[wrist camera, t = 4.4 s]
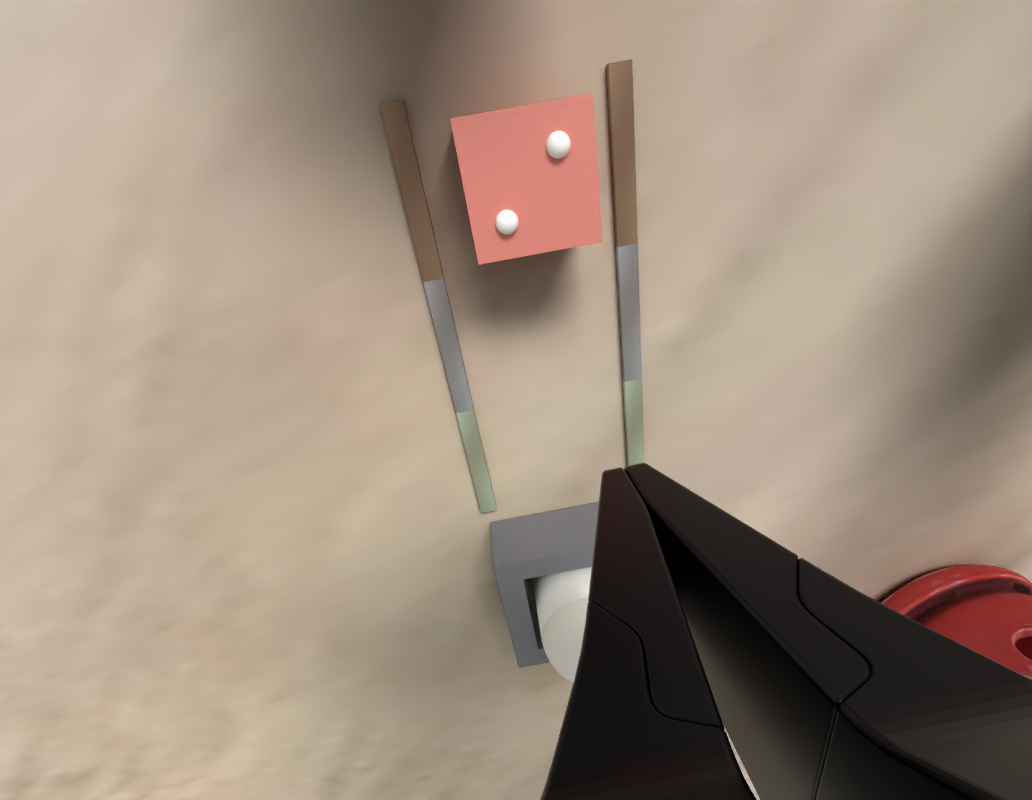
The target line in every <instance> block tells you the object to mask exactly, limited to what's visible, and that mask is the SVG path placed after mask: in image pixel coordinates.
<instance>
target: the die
mask: <svg viewBox="0 0 1032 800" xmlns="http://www.w3.org/2000/svg"><path fill="white" fill-rule="evenodd" d="M450 121H451V126H452V132H453V137H454V142H455V147H456V152H457V157H458V162H459V167H460V173H461V178H462V183H463V188H464V193H465V198H466V203H467V209H468V214H469V219H470V224H471V229H472V234H473V239H474V244H475V250H476V255H477V260H478V265H480V264H485V263H491V262H496V261H502V260H507V259H513V258H518V257H523V256H529V255H534V254H540V253H545V252H551V251H556V250H561V249H567V248H572V247H578V246H583V245H589V244H594V243H599V242H603V239H602V224H601V210H600V195H599V180H598V165H597V151H596V136H595V121H594V106H593V93H589V94H583V95H578V96H572V97H567V98H561V99H555V100H550V101H544V102H539V103H533V104H528V105H522V106H517V107H511V108H506V109H500V110H495V111H489V112H483V113H478V114H472V115H467V116H461V117H456V118H450Z"/></svg>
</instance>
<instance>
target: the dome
mask: <svg viewBox="0 0 1032 800" xmlns="http://www.w3.org/2000/svg"><path fill="white" fill-rule="evenodd" d="M591 569H592V567H587V568H582V569H577V570H571V571H566V572H561V573H556V574H550V575H545V576H540V577H534V578H532V583H533V589H534V595H535V602H536V608H537V614H538V621H539V627H540V633H541V639H542V644H543V648H544V651H545V653H546V656H547V657H548V659H549V661H550V663H551V664H552V666H553V667H554V668H555V670H556V671H557V672H558V673H559V674H560V675H561V676H562V677H564V678H565V679H566V680H568V681H570V682H571V683H574V679H575V674H576V670H577V666H578V661H579V657H580V652H581V647H582V640H583V634H584V627H585V621H586V612H587V604H588V596H589V587H590V578H591Z"/></svg>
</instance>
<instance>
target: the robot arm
mask: <svg viewBox="0 0 1032 800" xmlns="http://www.w3.org/2000/svg"><path fill="white" fill-rule="evenodd" d="M723 724H724V725H723ZM724 726H725V728H726V730H727V732H728V734H729V736H730V738H731V740H732V742H733V744H734V747H735V749H736V751H737V753H738V755H739V757H740V759H741V761H742V763H743V765H744V767H745V769H746V771H747V773H748V775H749V777H750V779H751V781H752V783H753V785H754V787H755V789H756V791H757V794H758V796H759V798H760V799H761V800H1032V679H1030V678H1028V677H1025V676H1023V675H1021V674H1019V673H1017V672H1015V671H1013V670H1011V669H1009V668H1007V667H1005V666H1003V665H1001V664H999V663H997V662H995V661H993V660H991V659H989V658H987V657H985V656H983V655H981V654H979V653H977V652H975V651H973V650H971V649H969V648H967V647H965V646H963V645H962V644H960V643H958V642H956V641H954V640H952V639H950V638H948V637H946V636H944V635H942V634H940V633H938V632H936V631H934V630H932V629H930V628H928V627H926V626H924V625H922V624H920V623H918V622H916V621H914V620H912V619H910V618H908V617H906V616H904V615H902V614H900V613H899V612H897V611H895V610H893V609H891V608H889V607H887V606H885V605H883V604H882V603H880V602H878V601H876V600H874V599H872V598H870V597H868V596H866V595H865V594H863V593H861V592H859V591H857V590H855V589H854V588H852V587H850V586H849V585H847V584H845V583H843V582H842V581H840V580H838V579H836V578H835V577H833V576H831V575H830V574H828V573H826V572H824V571H823V570H821V569H819V568H818V567H816V566H814V565H813V564H811V563H809V562H808V561H806V560H805V559H803V558H800V559H798V556H797V555H796V554H794V553H793V552H791V551H789V550H788V549H786V548H784V547H783V546H781V545H779V544H778V543H776V542H775V541H773V540H771V539H770V538H768V537H766V536H765V535H763V534H761V533H760V532H758V531H756V530H755V529H753V528H751V527H750V526H748V525H747V524H745V523H743V522H742V521H740V520H738V519H737V518H735V517H733V516H732V515H730V514H728V513H727V512H725V511H723V510H722V509H720V508H719V507H717V506H715V505H714V504H712V503H710V502H709V501H707V500H705V499H704V498H702V497H700V496H699V495H697V494H695V493H694V492H692V491H690V490H689V489H687V488H686V487H684V486H682V485H681V484H679V483H677V482H676V481H674V480H672V479H671V478H669V477H667V476H666V475H664V474H662V473H661V472H659V471H658V470H656V469H654V468H653V467H651V466H649V465H648V464H646V463H639V464H634V465H629V466H626V467H625V468H624V469H623V468H615V469H610V470H605V471H604V472H603V473H602V479H601V488H600V497H599V506H598V515H597V524H596V533H595V542H594V551H593V560H592V569H591V578H590V587H589V596H588V604H587V612H586V621H585V627H584V634H583V640H582V647H581V652H580V657H579V661H578V666H577V670H576V674H575V679H574V683H573V687H572V690H571V694H570V698H569V702H568V705H567V709H566V713H565V717H564V720H563V724H562V728H561V732H560V735H559V739H558V743H557V746H556V750H555V754H554V758H553V761H552V765H551V768H550V772H549V775H548V778H547V781H546V785H545V788H544V791H543V794H542V796H541V799H540V800H756V798H755V796H754V795H753V793H752V791H751V790H750V788H749V786H748V784H747V782H746V780H745V778H744V776H743V774H742V772H741V770H740V767H739V765H738V763H737V760H736V758H735V755H734V753H733V750H732V748H731V745H730V742H729V740H728V737H727V734H726V732H725V731H724Z"/></svg>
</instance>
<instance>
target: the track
mask: <svg viewBox="0 0 1032 800" xmlns="http://www.w3.org/2000/svg"><path fill="white" fill-rule="evenodd" d="M606 71H607V90H608V109H609V128H610V147H611V166H612V185H613V204H614V223H615V242H616V261H617V281H618V300H619V319H620V338H621V357H622V376H623V395H624V414H625V433H626V452H627V466H629V465H634V464H639V463H644V433H643V401H642V368H641V335H640V303H639V270H638V238H637V205H636V172H635V140H634V107H633V74H632V60H626V61H620V62H615V63H609V64H607V65H606ZM379 107H380V111H381V115H382V119H383V123H384V127H385V131H386V135H387V139H388V143H389V147H390V151H391V155H392V159H393V163H394V167H395V171H396V175H397V179H398V183H399V187H400V191H401V195H402V199H403V203H404V207H405V211H406V215H407V219H408V223H409V227H410V231H411V235H412V239H413V243H414V247H415V251H416V255H417V259H418V263H419V267H420V271H421V275H422V279H423V283H424V287H425V291H426V295H427V299H428V303H429V307H430V311H431V315H432V319H433V323H434V327H435V331H436V335H437V339H438V343H439V347H440V351H441V355H442V359H443V363H444V367H445V371H446V374H447V378H448V382H449V386H450V390H451V394H452V398H453V402H454V406H455V410H456V414H457V418H458V422H459V426H460V430H461V434H462V438H463V442H464V446H465V450H466V454H467V458H468V462H469V466H470V470H471V474H472V478H473V482H474V486H475V490H476V494H477V498H478V502H479V506H480V510H481V513H485V512H490V511H495V510H496V503H495V499H494V495H493V490H492V486H491V481H490V477H489V473H488V468H487V464H486V460H485V455H484V451H483V446H482V442H481V438H480V433H479V429H478V425H477V420H476V416H475V411H474V407H473V403H472V398H471V394H470V390H469V385H468V381H467V376H466V372H465V368H464V363H463V359H462V355H461V350H460V346H459V341H458V337H457V333H456V328H455V324H454V320H453V315H452V311H451V306H450V302H449V298H448V293H447V289H446V285H445V280H444V276H443V271H442V267H441V263H440V258H439V254H438V250H437V245H436V241H435V236H434V232H433V228H432V223H431V219H430V215H429V210H428V206H427V201H426V197H425V193H424V188H423V184H422V180H421V175H420V171H419V167H418V162H417V158H416V153H415V149H414V145H413V140H412V136H411V132H410V127H409V123H408V118H407V114H406V110H405V105H404V101H403V100H398V101H392V102H386V103H381V104H379Z"/></svg>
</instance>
